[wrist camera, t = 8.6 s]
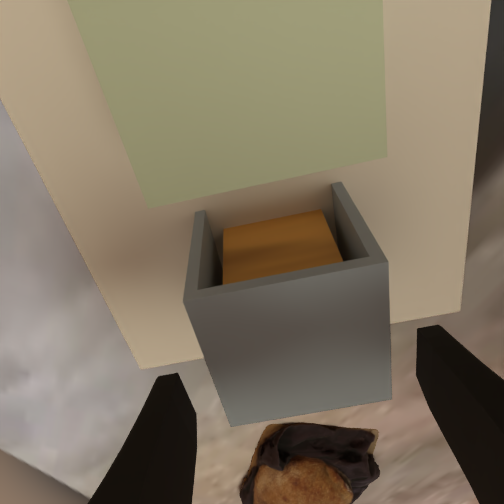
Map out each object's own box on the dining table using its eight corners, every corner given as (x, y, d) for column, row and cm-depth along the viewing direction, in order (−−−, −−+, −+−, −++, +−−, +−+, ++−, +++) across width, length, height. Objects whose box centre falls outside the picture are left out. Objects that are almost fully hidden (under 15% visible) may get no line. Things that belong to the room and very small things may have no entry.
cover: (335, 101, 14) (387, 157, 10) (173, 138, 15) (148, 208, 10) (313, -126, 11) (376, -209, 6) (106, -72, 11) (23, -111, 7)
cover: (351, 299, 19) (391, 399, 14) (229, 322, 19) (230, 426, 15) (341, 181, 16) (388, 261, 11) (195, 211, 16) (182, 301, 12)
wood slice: (342, 505, 32) (355, 563, 29) (232, 503, 30) (233, 563, 27) (391, 419, 26) (414, 480, 23) (257, 412, 25) (262, 475, 22)
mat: (456, 305, 20) (460, 311, 20) (142, 363, 21) (140, 369, 21) (504, -225, 10) (514, -233, 10) (-79, -70, 12) (-88, -72, 11)
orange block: (330, 286, 19) (353, 352, 15) (244, 302, 19) (247, 371, 15) (321, 209, 16) (345, 266, 13) (223, 228, 17) (222, 289, 13)
